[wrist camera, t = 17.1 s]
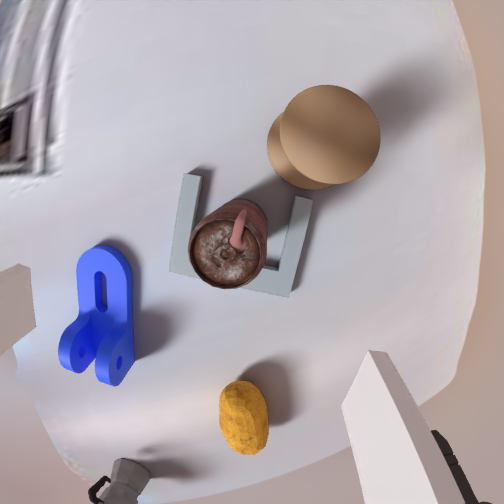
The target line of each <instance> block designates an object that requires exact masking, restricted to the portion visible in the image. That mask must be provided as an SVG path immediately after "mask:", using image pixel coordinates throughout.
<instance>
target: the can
mask: <svg viewBox="0 0 504 504" xmlns="http://www.w3.org/2000/svg"><path fill="white" fill-rule="evenodd" d="M188 255H189V261H190V263H191V265H192V267H193V269H194V271H195V273H196V274H197V275H198V276H199V277H200V278H201V279H202V280H203V281H204V282H206V283H208V284H209V285H211V286H213V287H217V288H221V289H235V288H239V287H242V286H244V285H247V284H249V283H250V282H251V281H252V280H254V279H255V278H256V277H257V276H258V274H259V273H260V271H261V270H262V268H263V267H264V263H265V259H266V255H267V222H266V217H265V215H264V212H263V211H262V210H261V208H260V207H259V206H258V205H257V204H255V203H253V202H252V201H250V200H245V199H234V200H232V201H229V202H227V203H225V204H224V205H223V206H221V207H220V208H218V209H217V210H215V211H214V212H212V213H211V214H210V215H208V216H207V217H205V218H204V219H203V220H202V221H201V222H200V223H198V224H197V225H196V226H195V228H194V230H193V232H192V233H191V235H190V238H189V243H188Z"/></svg>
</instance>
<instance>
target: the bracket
mask: <svg viewBox="0 0 504 504" xmlns="http://www.w3.org/2000/svg"><path fill="white" fill-rule="evenodd" d="M76 272H77V289H78V301H79V315H78V317H77V319H76V320H75V321H74V322H73V323H72V324H70V325H69V326H68V327H67V328H66V329H65V331H64V332H63V334H62V336H61V339H60V342H59V348H58V355H59V361H60V363H61V365H62V366H63V367H64V368H66V369H68V370H70V371H73V372H76V373H82V372H83V371H85V369H86V368H87V367H88V366H89V365H90V364H91V362H92V361H93V360H94V359H95V358H96V359H95V373H96V376H97V379H98V380H99V381H100V382H103V383H106V384H109V385H112V386H118V385H119V384H120V383H121V382H122V380H123V379H124V377H125V375H126V374H127V372H128V371H129V369H130V368H131V366H132V365H133V363H134V362H135V354H134V336H133V305H132V272H131V268H130V266H129V263H128V261H127V260H126V258H125V257H124V256H123V255H122V254H121V253H120V252H119V251H118V250H117V249H115V248H113V247H111V246H107V245H99V246H96V247H94V248H91V249H89V250H87V251H86V252H84V253H83V254H82V255H81V257H80V258H79V261H78V263H77V270H76ZM101 272H103V273H104V274H105V276H106V280H107V305H108V307H106V306H105V305H104V304H103V302H102V296H101Z"/></svg>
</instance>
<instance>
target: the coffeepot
mask: <svg viewBox="0 0 504 504" xmlns="http://www.w3.org/2000/svg"><path fill="white" fill-rule="evenodd" d="M150 478H151V477H150V473H149V472H148V470H147V469H146V468H144V467H143V466H141V465H140V464H138V463H136V462H134V461H131V460H128V459H118V460H116V461H114V465H113V470H112V474H111V479H110V478H108V477H107V476H103V477H102V478H101V479H100V480H99V481H98V482H97V483H96V484H95V485H93V486H92V487H91V488H90V489H89V490H88V494H89V499H90V501H91V502H93V503H94V504H138V501H137V497H138V496H139V495H140V494H141V492H142V491H143V489H144V488H145V486H146V485H147V483H148V482H149V480H150ZM106 481H107V482H109V483H111V484H110V486H109V487H107V488H106V489H105V490H104V492H103V493H102V495H101V496H100V497H99V498H97V497H96V493H97V492H98V491H99V489H100V488H101V487H102V486H104V484H105V482H106Z"/></svg>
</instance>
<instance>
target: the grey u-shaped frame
mask: <svg viewBox="0 0 504 504" xmlns="http://www.w3.org/2000/svg"><path fill="white" fill-rule="evenodd" d="M202 180H203V176H199V175H193V174H184V175H183V181H182V186H181V192H180V198H179V204H178V210H177V216H176V223H175V229H174V236H173V243H172V250H171V258H170V266H169V272H173V273H177V274H181V275H186V276H190V277H194V278H199V279H201V278H200V277H199V276H198V275H197V274H196V273H195V271H194V269H193V267H192V265H191V263H190V261H189V255H188V243H189V238H190V235H191V233H192V232H193V230H194V225H195V219H196V213H197V207H198V202H199V196H200V191H201V185H202ZM313 201H314V200H312V199H308V198H304V197H300V196H296V195H295V198H294V203H293V207H292V212H291V216H290V220H289V224H288V229H287V233H286V237H285V241H284V246H283V250H282V254H281V258H280V262H279V266H278V268H277V267H272V266H268V265H264V267H263V268H262V270H261V271H260V273H259V274H258V276H257V277H256V278H255V279H254V280H252V281H251V282H250V283H249V284H247V285H244V286H242V287H239V288H243V289H248V290H253V291H258V292H262V293H267V294H272V295H277V296H282V297H287V298H289V295H290V292H291V288H292V284H293V281H294V277H295V273H296V269H297V265H298V262H299V258H300V254H301V250H302V246H303V242H304V238H305V234H306V230H307V226H308V222H309V218H310V214H311V209H312V205H313Z"/></svg>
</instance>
